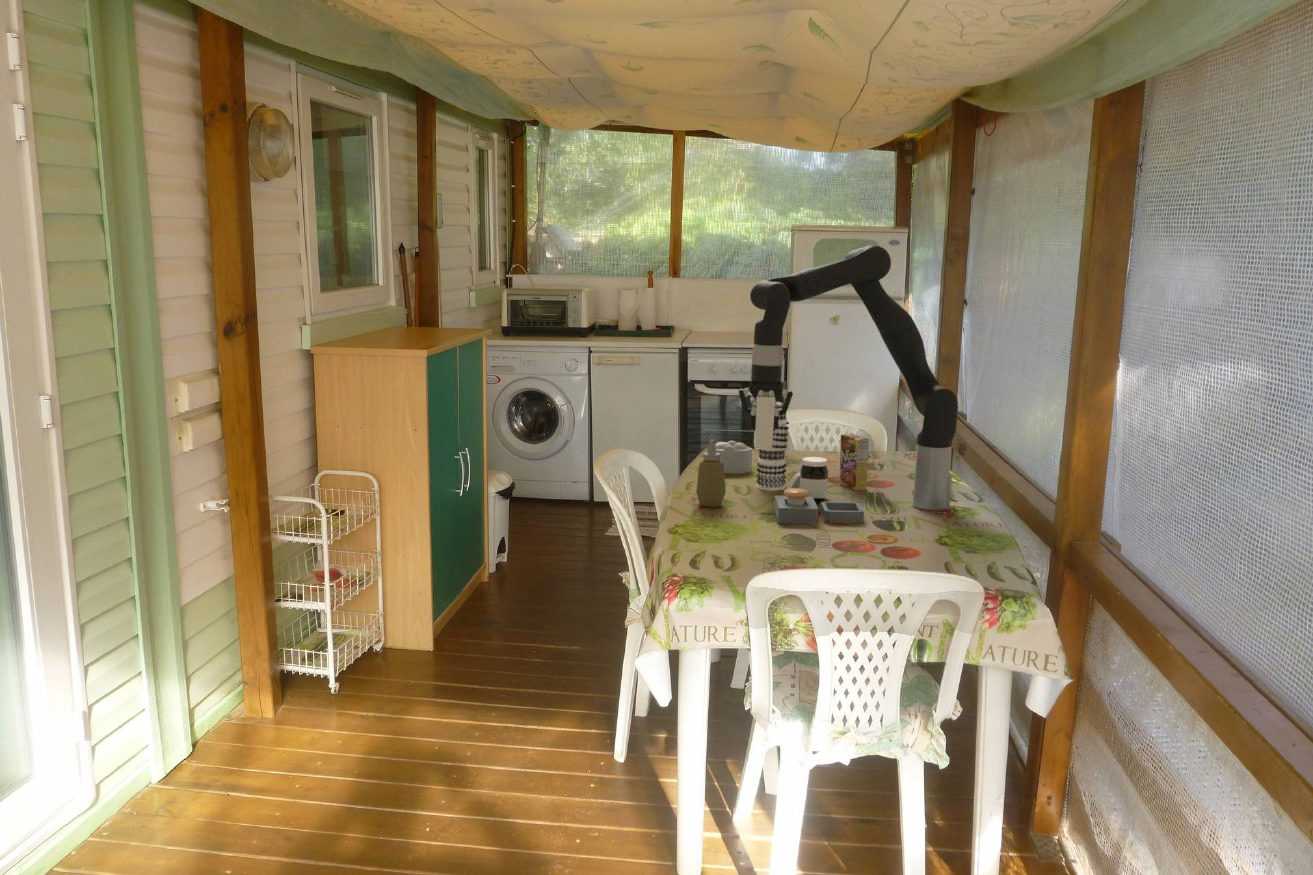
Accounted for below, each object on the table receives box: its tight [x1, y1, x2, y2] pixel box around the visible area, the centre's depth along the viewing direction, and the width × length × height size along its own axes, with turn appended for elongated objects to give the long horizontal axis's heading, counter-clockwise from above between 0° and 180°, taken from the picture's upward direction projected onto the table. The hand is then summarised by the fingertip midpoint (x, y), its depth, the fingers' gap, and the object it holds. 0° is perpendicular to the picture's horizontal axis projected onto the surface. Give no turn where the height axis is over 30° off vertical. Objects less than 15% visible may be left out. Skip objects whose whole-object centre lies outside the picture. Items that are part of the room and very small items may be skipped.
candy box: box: [839, 432, 870, 492], centre depth 303 cm, size 9×4×15 cm, turn 23°
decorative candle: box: [755, 401, 790, 492], centre depth 301 cm, size 9×9×25 cm
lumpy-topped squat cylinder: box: [715, 440, 753, 475], centre depth 324 cm, size 10×13×9 cm
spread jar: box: [786, 456, 829, 504], centre depth 289 cm, size 12×11×12 cm
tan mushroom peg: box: [783, 488, 809, 505], centre depth 271 cm, size 6×6×6 cm
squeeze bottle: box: [695, 439, 727, 508], centre depth 281 cm, size 8×8×18 cm
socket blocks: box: [773, 495, 865, 525], centre depth 271 cm, size 22×13×4 cm, turn 88°
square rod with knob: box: [753, 392, 775, 449], centre depth 261 cm, size 4×4×14 cm
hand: (763, 429), depth 261 cm, fingers closed on square rod with knob, 4 cm apart
